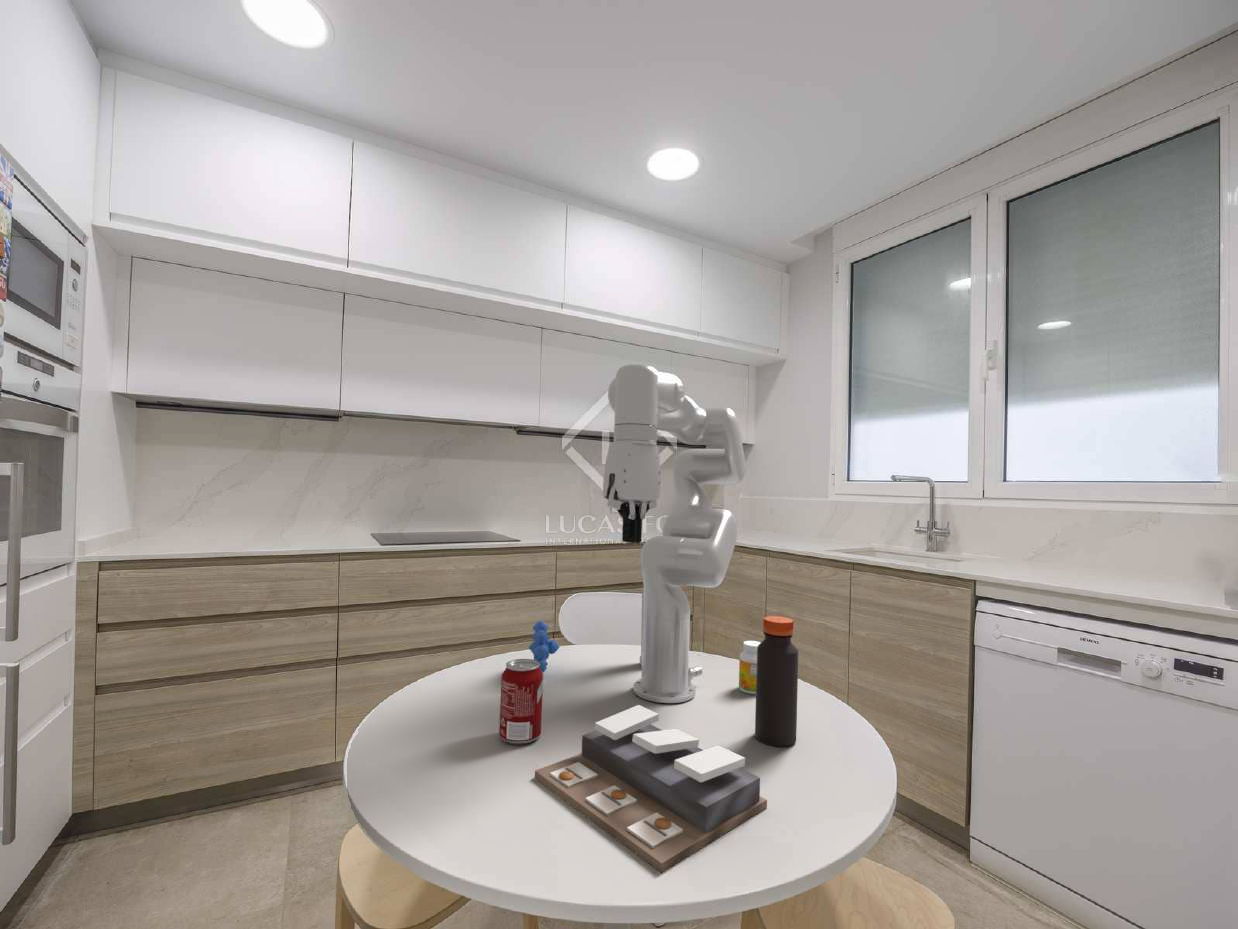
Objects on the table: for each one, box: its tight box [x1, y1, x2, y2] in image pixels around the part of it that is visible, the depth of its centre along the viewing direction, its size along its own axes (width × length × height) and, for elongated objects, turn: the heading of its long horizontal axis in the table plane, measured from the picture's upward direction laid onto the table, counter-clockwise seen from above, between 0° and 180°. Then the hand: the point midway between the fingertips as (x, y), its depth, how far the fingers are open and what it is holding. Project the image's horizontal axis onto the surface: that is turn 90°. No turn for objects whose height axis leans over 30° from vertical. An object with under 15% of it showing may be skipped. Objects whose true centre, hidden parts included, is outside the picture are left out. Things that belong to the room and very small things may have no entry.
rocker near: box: [674, 745, 746, 782], centre depth 74 cm, size 9×4×1 cm, turn 132°
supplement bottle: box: [738, 640, 761, 695], centre depth 118 cm, size 5×5×10 cm
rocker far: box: [594, 704, 660, 740], centre depth 86 cm, size 9×4×1 cm, turn 132°
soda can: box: [498, 658, 544, 746], centre depth 93 cm, size 7×7×12 cm
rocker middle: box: [632, 728, 700, 754], centre depth 80 cm, size 9×4×1 cm, turn 131°
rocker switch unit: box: [534, 724, 768, 873], centre depth 77 cm, size 20×25×4 cm
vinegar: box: [754, 615, 799, 748], centre depth 96 cm, size 7×7×20 cm
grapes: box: [528, 620, 560, 674], centre depth 123 cm, size 12×7×12 cm, turn 11°
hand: (631, 541), depth 98 cm, fingers closed
